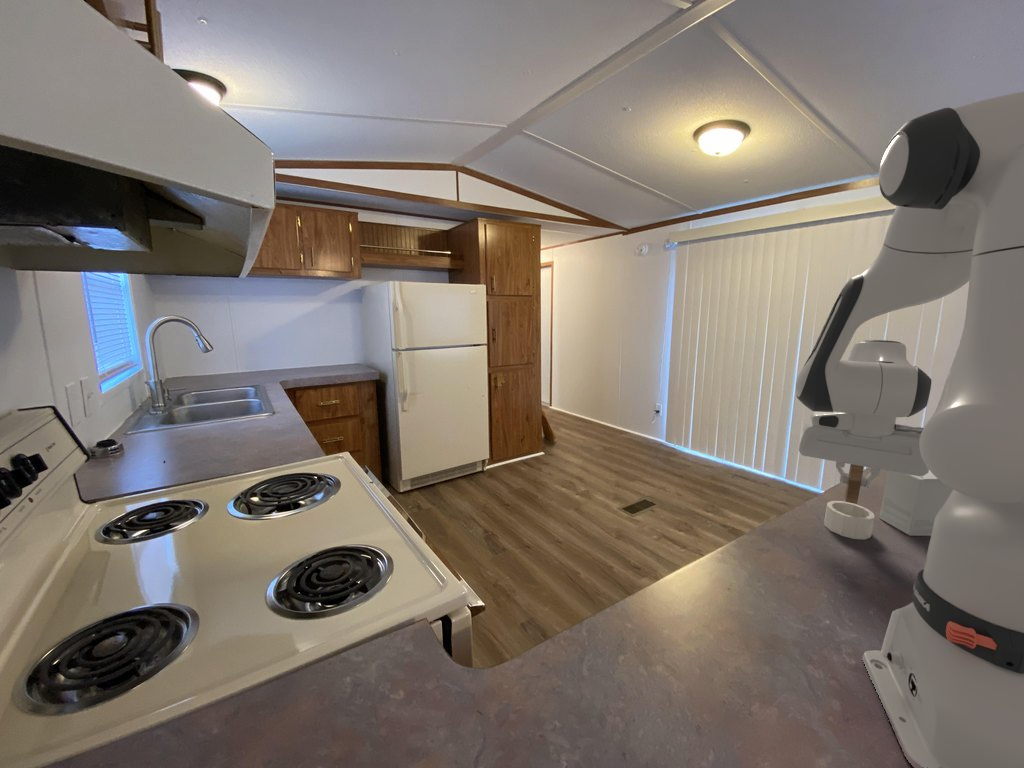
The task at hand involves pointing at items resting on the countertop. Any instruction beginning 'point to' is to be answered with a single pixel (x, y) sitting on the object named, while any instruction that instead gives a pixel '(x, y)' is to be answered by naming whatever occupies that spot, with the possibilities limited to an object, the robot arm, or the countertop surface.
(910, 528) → the supplement box
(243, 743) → the countertop surface
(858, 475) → the brown rectangular block
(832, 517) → the faceted white cup
